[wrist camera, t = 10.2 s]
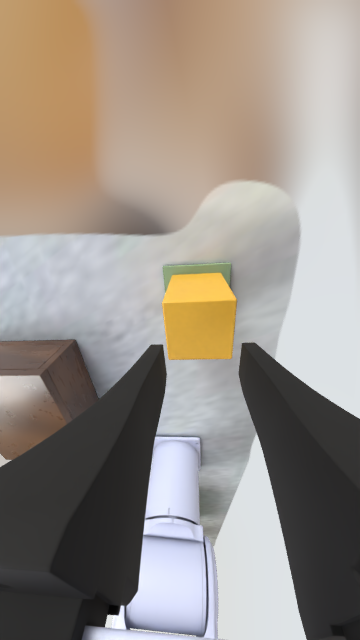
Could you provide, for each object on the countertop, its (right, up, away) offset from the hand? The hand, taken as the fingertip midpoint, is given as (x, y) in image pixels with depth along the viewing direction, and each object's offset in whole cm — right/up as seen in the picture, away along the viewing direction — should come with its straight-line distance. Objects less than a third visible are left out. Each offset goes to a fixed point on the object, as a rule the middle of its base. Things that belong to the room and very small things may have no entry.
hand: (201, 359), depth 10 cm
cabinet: (-18, -7, +15) cm, 25 cm away
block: (0, +4, +8) cm, 9 cm away
